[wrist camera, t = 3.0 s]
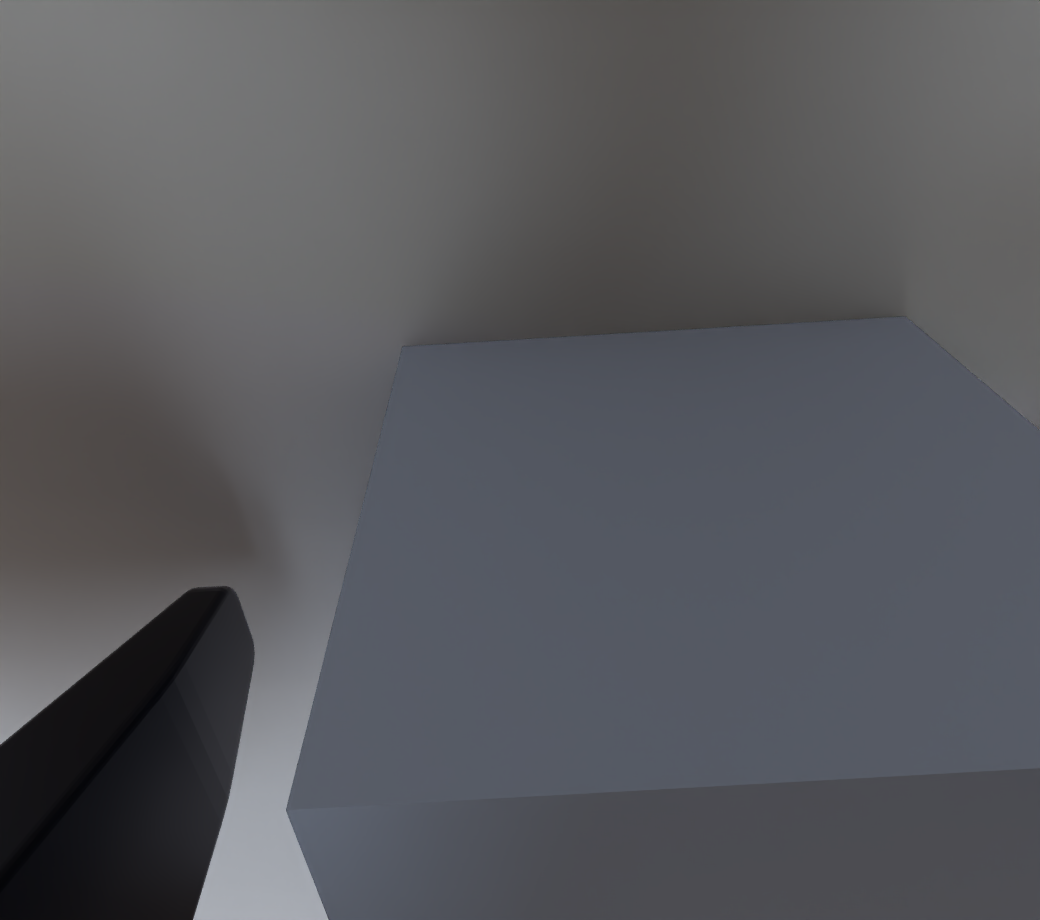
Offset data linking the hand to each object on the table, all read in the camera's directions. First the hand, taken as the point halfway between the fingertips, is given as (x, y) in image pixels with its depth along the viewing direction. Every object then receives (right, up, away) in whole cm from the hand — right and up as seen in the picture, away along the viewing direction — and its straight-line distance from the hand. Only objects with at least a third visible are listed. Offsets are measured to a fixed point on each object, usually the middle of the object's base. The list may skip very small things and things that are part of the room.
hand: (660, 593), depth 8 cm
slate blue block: (0, +1, +1) cm, 1 cm away
